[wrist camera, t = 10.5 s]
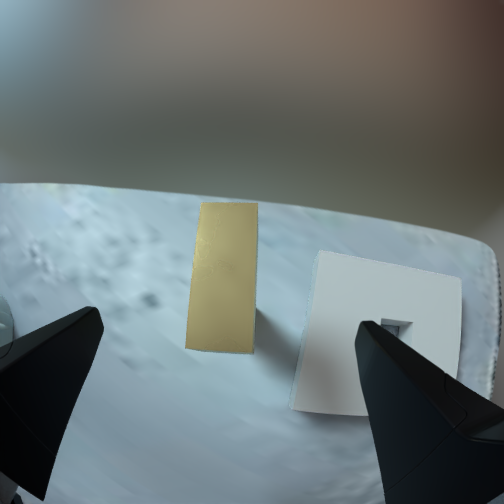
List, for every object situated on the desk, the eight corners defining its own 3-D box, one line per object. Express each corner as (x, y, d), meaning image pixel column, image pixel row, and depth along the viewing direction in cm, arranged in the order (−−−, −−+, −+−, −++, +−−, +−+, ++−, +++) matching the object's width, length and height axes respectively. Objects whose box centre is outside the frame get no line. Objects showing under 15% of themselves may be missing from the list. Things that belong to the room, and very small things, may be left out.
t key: (256, 356, 20) (252, 352, 9) (225, 355, 20) (185, 348, 9) (258, 282, 23) (257, 203, 12) (229, 281, 23) (201, 202, 12)
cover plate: (434, 409, 18) (450, 412, 15) (288, 404, 19) (292, 409, 17) (446, 285, 22) (461, 278, 20) (313, 260, 23) (319, 249, 21)
